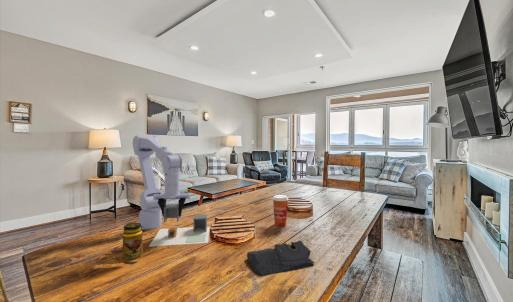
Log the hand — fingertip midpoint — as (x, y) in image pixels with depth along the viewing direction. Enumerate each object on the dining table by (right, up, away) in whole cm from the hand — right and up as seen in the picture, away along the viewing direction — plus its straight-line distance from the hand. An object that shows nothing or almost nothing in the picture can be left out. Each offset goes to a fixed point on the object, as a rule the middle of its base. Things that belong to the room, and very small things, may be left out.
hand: (172, 216), depth 98 cm
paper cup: (+47, -9, +17) cm, 51 cm away
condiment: (-8, -10, -16) cm, 21 cm away
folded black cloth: (+43, -11, -17) cm, 48 cm away
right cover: (+10, -8, +8) cm, 15 cm away
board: (+4, -9, +1) cm, 10 cm away
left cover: (0, -2, 0) cm, 2 cm away
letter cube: (0, -8, 0) cm, 8 cm away
